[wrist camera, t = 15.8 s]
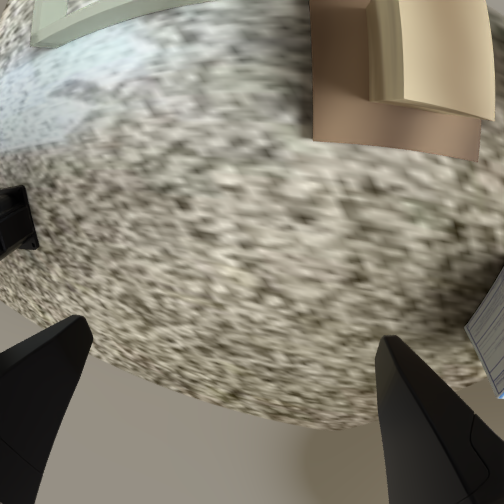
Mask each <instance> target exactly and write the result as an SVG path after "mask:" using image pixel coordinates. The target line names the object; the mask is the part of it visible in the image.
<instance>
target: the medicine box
mask: <svg viewBox="0 0 504 504" xmlns="http://www.w3.org/2000/svg"><path fill="white" fill-rule="evenodd" d="M464 329H465V331H466V333H467V335H468V337H469V339H470V341H471V343H472V345H473V347H474V349H475V350H476V353H477V355H478V357H479V359H480V361H481V363H482V366H483V368H484V370H485V372H486V374H487V377H488V379H489V381H490V384H491V386H492V388H493V391H494V394H495V396H496V398H500V399H504V267H503V269H502V270H501V272H500V274H499V276H498V277H497V279H496V281H495V282H494V284H493V286H492V287H491V289H490V290H489V292H488V294H487V295H486V297H485V298H484V300H483V301H482V303H481V304H480V306H479V307H478V309H477V310H476V312H475V313H474V315H473V316H472V318H471V319H470V320H469V322H468V323H467V325H466V326H465V327H464Z"/></svg>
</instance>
